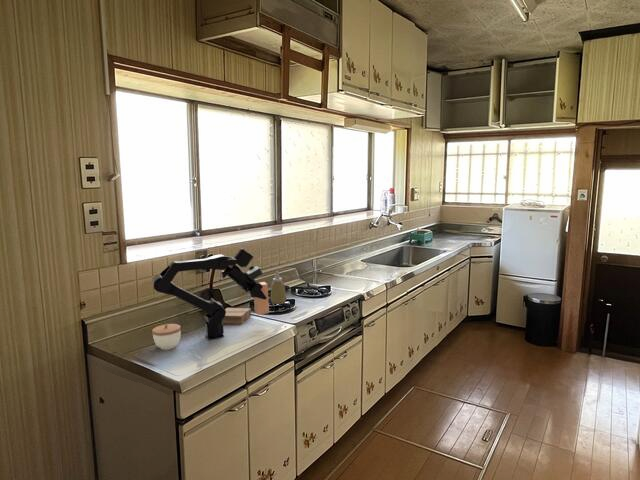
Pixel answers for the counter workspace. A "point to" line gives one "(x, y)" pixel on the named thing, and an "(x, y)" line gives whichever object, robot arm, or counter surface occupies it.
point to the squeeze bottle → (278, 290)
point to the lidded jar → (167, 336)
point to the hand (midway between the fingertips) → (264, 297)
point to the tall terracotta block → (262, 301)
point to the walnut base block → (236, 315)
